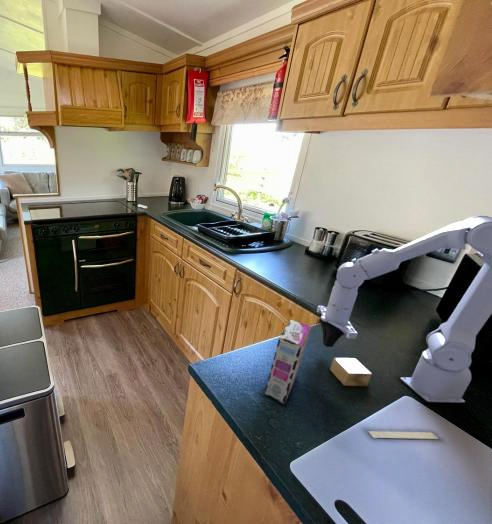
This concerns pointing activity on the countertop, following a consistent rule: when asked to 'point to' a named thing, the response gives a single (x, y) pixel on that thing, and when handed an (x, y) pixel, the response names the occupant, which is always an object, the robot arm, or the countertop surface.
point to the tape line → (403, 435)
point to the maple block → (350, 372)
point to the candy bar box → (287, 360)
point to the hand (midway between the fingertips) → (327, 345)
